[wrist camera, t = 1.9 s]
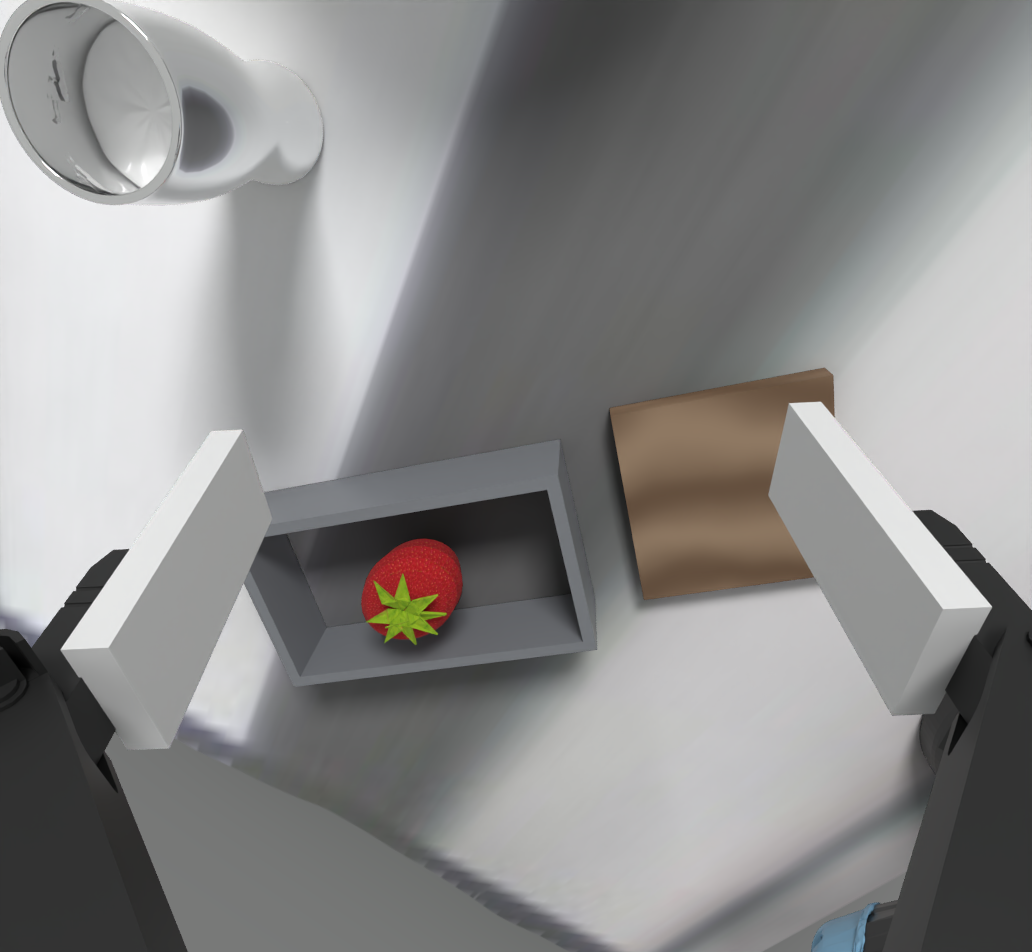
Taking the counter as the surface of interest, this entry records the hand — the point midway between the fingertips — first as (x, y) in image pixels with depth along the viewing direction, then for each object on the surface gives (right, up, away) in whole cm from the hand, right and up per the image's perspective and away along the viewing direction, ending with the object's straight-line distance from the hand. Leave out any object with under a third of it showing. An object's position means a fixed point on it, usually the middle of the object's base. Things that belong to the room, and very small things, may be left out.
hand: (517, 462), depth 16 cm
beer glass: (-14, +19, +20) cm, 31 cm away
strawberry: (-6, -5, +31) cm, 33 cm away
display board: (+14, -1, +27) cm, 30 cm away
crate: (-6, -6, +31) cm, 32 cm away
